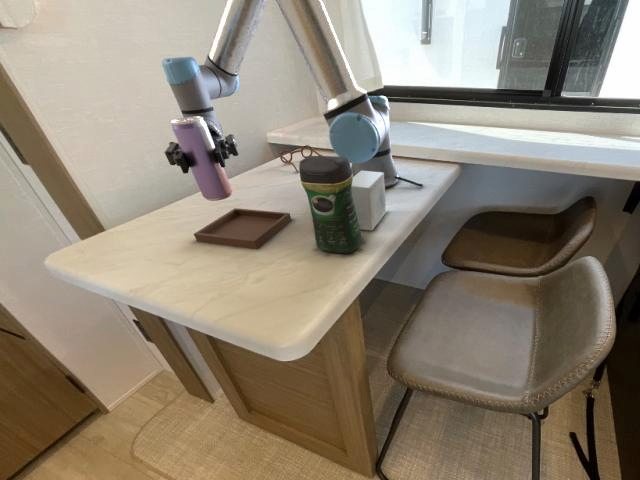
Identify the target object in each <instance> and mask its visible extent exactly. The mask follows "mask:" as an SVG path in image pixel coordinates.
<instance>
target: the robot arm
mask: <svg viewBox="0 0 640 480" xmlns="http://www.w3.org/2000/svg"><path fill="white" fill-rule="evenodd" d="M275 2H276V3H277V6H278V8H279V10H280V12H281V14H282V17H283V18H284V21H285V23H286V25H287V27H288V29H289V31H290V34H291V35H292V37H293V39H294V41H295V44H296V46H297V48H298V50H299V52H300V54H301V56H302V59H303V61H304V62H305V65H306V68H307V69H308V71H309V73H310V76H311V77H312V80H313V82H314V84H315V86H316V89H317V90H318V92H319V95H320V96H321V98H322V100H323V104H324V105H323V108H322V115H323V117H324V119H325V121H326V124H327V125H328V128H329V131H328V139H329V143H330V146H331V149H332V150H333V152H334V153H335V154H336V156H338V157H347V158H348V160H349V162H350V164H351V165H350V166H351V169H352V174H353V177H354V176H355V175H356V174H358V173H359V172H360V171H371V172H382V173H384V184H385V189H386V188H389V187H392V186H395V185H396V184H397V183H398V182H399V181H403V182H405V183H408V184H411V185H414V186H416V187H420V188H421V187H424V184H423V183H418V182H416V181H412V180H411V179H407V178H404V177H402V176H401V177H400V176H399V174H398V169H397V166H396V164H395V162H394V159H393V156H392V155H393V154H392V147H391V146H392V145H391V144H392V143H391V129H390V128H391V127H390V125H391V124H390V106H389V100H388V98H387V97H386V96H384V95H368V93H367V91H366V90H365V89H363V88H362V87H359V86H358V85H357V83H356V80H355V78H354V75H353V73H352V70H351V68H350V66H349V63H348V60H347V59H346V56H345V54H344V51H343V49H342V47H341V44H340V42H339V39H338V37H337V33H336V31H335V29H334V27H333V25H332V21H331V19H330V17H329V15H328V12H327V10H326V7H325V5H324V3H323V1H322V0H275ZM267 3H268V0H225V1H224V3H223V6H222V9H221V12H220V15H219V18H218V21H217V24H216V28H215V31H214V33H213V37H212V40H211V43H210V46H209V49H208V52H207V55H206V58H205V61H204V63H203V64H200V65H199V64H198V62H197V60H196V58H194V57H192V56H180V57H179V56H178V57H165V58H163V59H162V60H161V66H162V69H163V71H164V73H165V74H164V75H165V76H166V81H167V83H168V85H169V86H170V89H171V91H172V93H173V96H174V98H175V101H176V102H177V105H178V107H179V109H180V112H181V115H182V118H184V117H195V116H199V117H203V120H204V121H205V122H206V124H207V127H208V129H209V132H210V134H211V137H212V139H213V142H214V145H215V147H216V151H215V153H216V156H217V158H218V161H219V163H220V166H221V168H226V160H228V159H230V157H231V155H232V157H238V156H239V152H238V151H239V150H238V149H237V147H238V144H237V141H236V139H235V135H234V134H232V133H230V134H228V135H226V136H225V135H223V134H224V132H223V129H222V125H221V123H220V121H219V119H218V117H217V114H216V112H215V109H214V106H213V103H212V101H213V100H218V99H222V98H226V97H231V96H232V95H234V94H236V93H237V92H238V90H239V88H240V77H239V73H240V70H241V68H242V66H243V63H244V60H245V57H246V56H247V53H248V50H249V48H250V45H251V43H252V40H253V38H254V35H255V33H256V30H257V28H258V25H259V23H260V20H261V18H262V16H263V13H264V10H265V8H266V6H267ZM223 136H224V138H223ZM168 145H169V146H167V148H166V150H165V151H164V152H163V153H164V155H165V157H166V159H167V161H168V163H169V165H170V166H177V167H180V169H181V171H182V173H183V175H184V174H188V173H189V170H190V167H189V164H188V162H187V160H186V158H185V156H184V153H183V151H182V149H181V147H180V145H179V142H175V141H170V142H168Z"/></svg>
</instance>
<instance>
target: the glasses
mask: <svg viewBox="0 0 640 480" xmlns="http://www.w3.org/2000/svg"><path fill="white" fill-rule="evenodd" d="M305 148H309V150H310V154H309V155H307V156H305V154H304V149H305ZM285 153H289V155H290V158H289V159H287V158H286V157H284V156H283V154H285ZM296 153H300V154H301V156H302V158H303V159H305V158H307V157H309V156H313V154H314V153H315V154H316V156H324V155H323V154H321V153H319V152H317V150H315V149H314V148H313V147H312V146H311V145H310V144H309V145H308V144H307V145H303V146H302V147H301V148H300V149H295V150H293V151H291V150H289V149H284V150H282V151H281V152H280V154H279V159H280V161H281V162H282V163H284V164H289V165H292V167H293V168H294V170H295V171H296V173H299V169H297V167H296V166H295V164H294V163H293V162H292V161H293V155H294V154H296Z"/></svg>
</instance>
